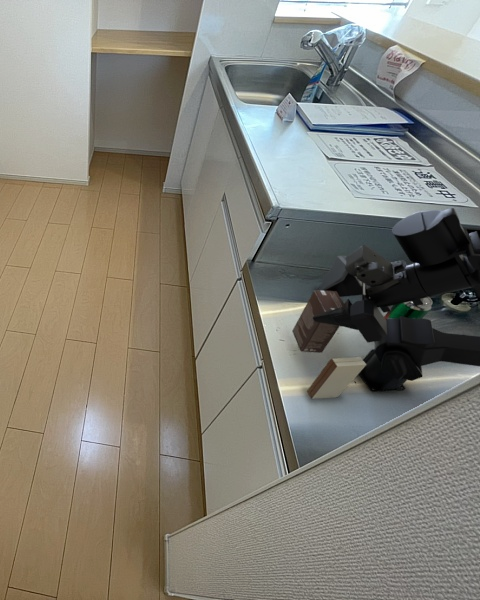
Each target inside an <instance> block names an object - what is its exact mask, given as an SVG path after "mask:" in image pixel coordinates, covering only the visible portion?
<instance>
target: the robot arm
mask: <svg viewBox="0 0 480 600" xmlns="http://www.w3.org/2000/svg"><path fill="white" fill-rule="evenodd" d="M391 233H392V235H393V236H394V238H395V240H396V241H397V242H398V244H399V246H400V247H401V249H402V250H403V252H404V253H405V255H406V257H407V258H408V260H409V262H411V263H409V264H407V262H406V261H405V260H397V261H392V262H391V261H389V260H388V259H386V258H385V257H384V256H383V255H381V254H379V253H378V252H377V251H375V250H373V249H372V248H370V247H369V246H367V245H361V246H360V247H358V248H357V249H356V250H355V249H354V251H352V252H351V253H349V254H348V255H346V256H347V257H346V258H345V259H346V265H345V270H346V272H345V274H344V276H343V277H341V278H340V279H338V280H337V281H335V282H334V283H332V284H330V285H329V286H327V287H326V288H324V289H322V290H321V291H337V293H338V295H339V296H340V298H342V297H343V298H344V297H354V296H355V297H356V296H361V300H356V301H355V302H354V303H352V302H351V300H350V299H349V298H347V299H346V300H345V302H343V303H344V305H343V306H342V307H340V308H337V309H334V310H331V311H327V312H324V313H321V314H318V315H316V316H313V320H314V321H315V322H319V323H325V324H331V325H337V326H339V327H343V328H347V329H350V330H351V329H352V330H356V331H359V333H360V334H361V336H362V337H363V338H364V340H365V341H366V342H367V343H368V344H369V343H374V348H372V349H370V350H369V352H368V353H367V354H366V356H364V357H363V358H362V360H363V361H364V362H365V363H366V366H365V367H364V368H363V369H362V370H361V371H360V373H359V374H358V376H359V377H360V378H361V379H362V381H363V382H364V384H365V385H366V387H367V388H368V389H369V391H370V392H372V393H384V392H386V393H387V392H403V391H405V390H406V386H405V385H404V384H405V383H406V382H407V381H409V382H413V381H415V380H418V379H420V378H423V375H424V374H423V369H422V367H423V366H427V365H432V364H435V363H439V362H441V363H442V362H443V363H451V364H458V365H465V366H466V365H467V366H474V367H480V336H479V335H478V336H477V335H470V334H469V335H468V334H459V333H450V332H449V333H448V332H443V331H440V330H438V329H436V328H434V327H433V323H432V320H431V319H427V318H422V319H412V318H406V317H403V316H400V319H399V318H389V319H385V318H384V315H383V314H384V313H387V312H389V311H391V307H392V306H393V305H396V304H401V303H405V302H409V301H412V302H413V303H414V305H415V306H417V305H422V304H423V298H427V297H429V298H431V297H436V296H440V295H444V294H449V293H453V292H457V291H463V290H467V289H473V292H474V293H475V295H476V297H478V298H479V299H480V227H467V226H466V227H465V226H463V225H462V224H461V221H460V217H459V215H458V212H457V211H456V209H455V208H454V207H449V208H447V209H445V210H438V209H437V210H436V209H433V210H432V209H431V210H424V211H417V212H414V213H412V214H409V215H408V216H406V217H404V218H402V219H401V220H399V221H398V222H397V223H395V224H394V226H393V227H392V228H391ZM465 255H466V256H465ZM379 308H380V309H379ZM380 310H381V311H380ZM382 312H383V314H382Z"/></svg>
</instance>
